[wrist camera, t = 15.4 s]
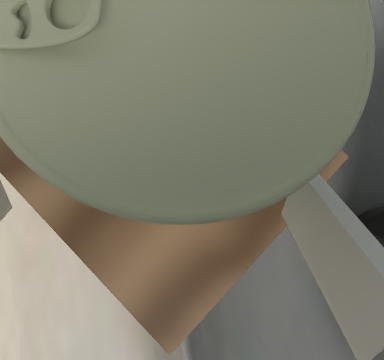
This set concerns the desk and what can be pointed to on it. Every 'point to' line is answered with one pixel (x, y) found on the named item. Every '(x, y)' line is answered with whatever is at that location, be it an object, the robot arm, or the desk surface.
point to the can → (182, 99)
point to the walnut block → (155, 252)
